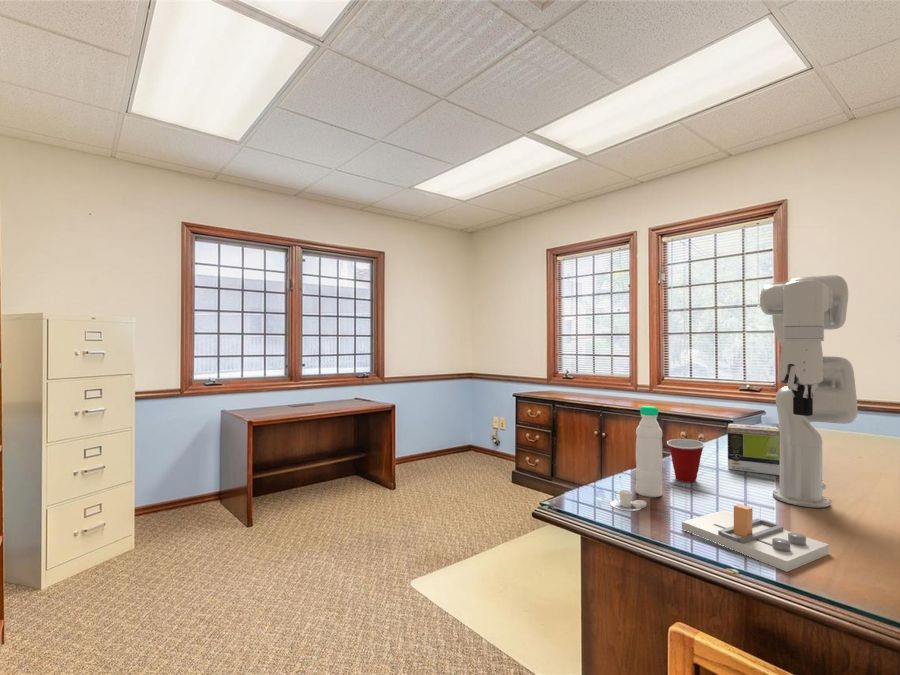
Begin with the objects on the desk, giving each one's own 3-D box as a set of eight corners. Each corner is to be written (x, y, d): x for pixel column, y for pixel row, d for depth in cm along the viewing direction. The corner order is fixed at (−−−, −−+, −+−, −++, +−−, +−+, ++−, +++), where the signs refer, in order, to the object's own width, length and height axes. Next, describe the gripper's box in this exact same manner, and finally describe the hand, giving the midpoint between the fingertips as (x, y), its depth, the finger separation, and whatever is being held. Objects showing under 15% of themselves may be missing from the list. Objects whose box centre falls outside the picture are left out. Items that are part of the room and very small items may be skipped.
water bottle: (665, 499, 130) (665, 408, 130) (638, 497, 131) (638, 407, 131) (659, 491, 137) (659, 405, 137) (633, 489, 138) (633, 404, 138)
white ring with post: (649, 507, 124) (649, 492, 124) (638, 515, 118) (638, 499, 118) (617, 499, 130) (617, 485, 130) (604, 507, 124) (605, 492, 124)
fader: (739, 531, 103) (739, 503, 103) (752, 536, 100) (752, 508, 100) (733, 533, 102) (733, 505, 102) (746, 537, 99) (747, 509, 99)
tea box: (779, 469, 161) (779, 426, 161) (780, 476, 152) (780, 431, 152) (728, 463, 169) (728, 422, 169) (727, 469, 160) (727, 426, 161)
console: (723, 518, 116) (723, 504, 116) (828, 554, 97) (828, 537, 97) (681, 530, 108) (681, 515, 109) (787, 571, 89) (787, 553, 89)
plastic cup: (659, 477, 150) (659, 440, 150) (680, 473, 155) (680, 437, 156) (690, 487, 141) (691, 447, 141) (712, 482, 146) (712, 443, 146)
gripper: (801, 335, 114) (801, 410, 114) (767, 334, 107) (766, 414, 107) (838, 335, 108) (838, 415, 108) (804, 334, 101) (804, 420, 100)
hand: (802, 414), depth 107 cm, fingers closed
